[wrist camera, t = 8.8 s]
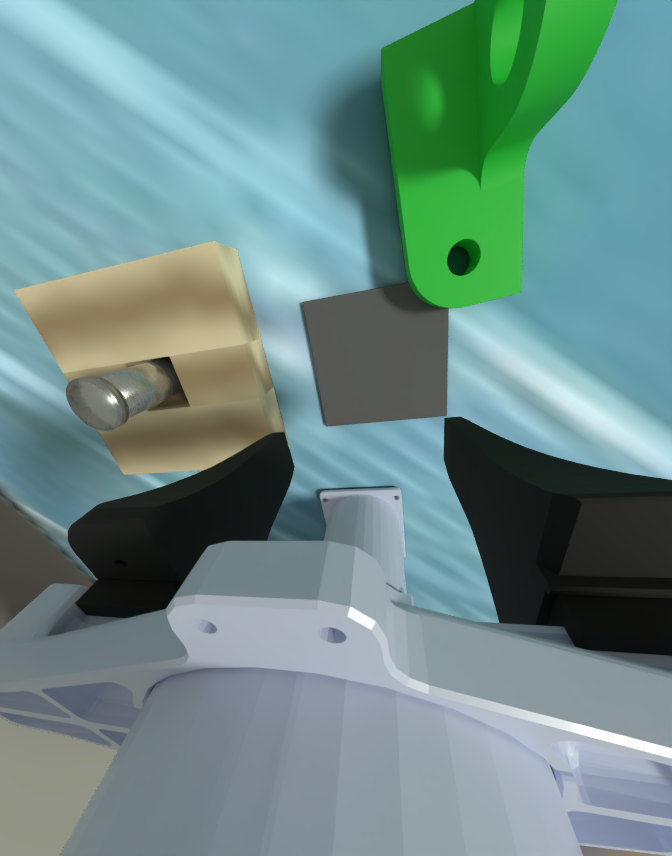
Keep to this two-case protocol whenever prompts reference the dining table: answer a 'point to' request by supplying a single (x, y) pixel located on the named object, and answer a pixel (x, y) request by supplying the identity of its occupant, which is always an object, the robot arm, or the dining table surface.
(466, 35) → the mechanical part
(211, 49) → the dining table surface
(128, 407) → the pin
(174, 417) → the socket block
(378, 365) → the mat
